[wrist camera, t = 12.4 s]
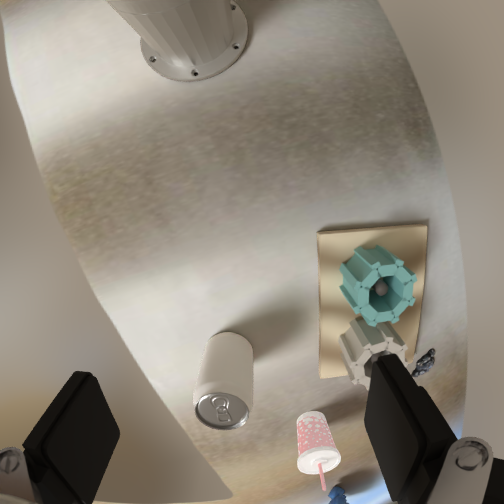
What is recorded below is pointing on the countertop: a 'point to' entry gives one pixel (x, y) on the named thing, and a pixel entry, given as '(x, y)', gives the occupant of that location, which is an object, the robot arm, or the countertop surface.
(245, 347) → the can
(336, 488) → the blue flower ornament
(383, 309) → the teal gear
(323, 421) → the beverage cup
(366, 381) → the gear
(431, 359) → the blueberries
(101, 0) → the countertop surface
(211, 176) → the countertop surface
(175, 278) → the countertop surface
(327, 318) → the board
